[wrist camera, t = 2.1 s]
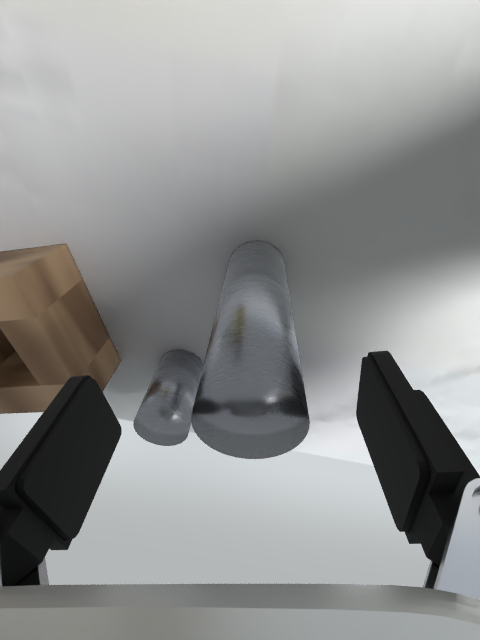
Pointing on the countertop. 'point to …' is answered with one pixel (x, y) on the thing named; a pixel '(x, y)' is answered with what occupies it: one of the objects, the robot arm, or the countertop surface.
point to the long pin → (252, 363)
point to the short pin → (170, 399)
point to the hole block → (47, 329)
